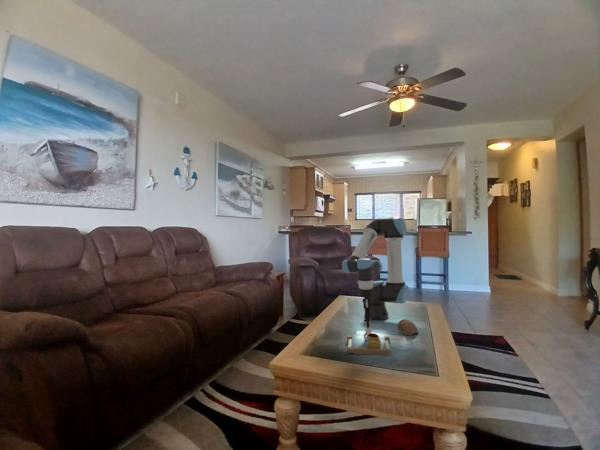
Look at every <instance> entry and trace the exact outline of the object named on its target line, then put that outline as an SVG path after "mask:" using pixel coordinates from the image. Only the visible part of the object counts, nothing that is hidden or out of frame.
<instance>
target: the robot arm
mask: <svg viewBox="0 0 600 450" xmlns="http://www.w3.org/2000/svg"><path fill="white" fill-rule="evenodd" d="M406 235H407V225H406V222H405V220H404V218H402V217H401V216H392V217H391V216H390V217H380V218H379V217H377V218H376V219H374V220H372V221H371V222H369V223H368V224H367V225H366V227H365V228H364V230H363V232H362V236H361V237H360V240H359V241H358V243H357V245H356V247H355V249H354V251H352V254H351V256H350V257H349V258H348V259H344V260H343V261H342V263H341V269H342V271H343V272H344V273H346V274H357V276H358V277H357V278H358V279H357V284H358V295H359V297H363V298H362V305H363V309H364V319H363V322H364V324H365V326H364V327H365V333H367V334H369V333H372V329H371V327H372V326H371V324H372V323H371V320H374V321H379V320H380V321H381V320H386V319H389V312H388V310H387V307H386V303H393V304H397V305H398V304H399V305H401V304H405V303H406V302H407V301H408V297H409V294H410V293H409V292H410V288H409V285H407V284H406V281H405V280H404V279H403V264H402V263H403V262H402V260H403V259H402V256H403V255H402V240H404V236H406ZM378 237H383V238H384V239H385V241H386V251H387V254H386V255H387V279H386V281H385V280H375V281H374V280H373V276H374V275H377V274H379V273H381V271H382V270H383V264H382V262H381V261H380V260H377V259H371V258H369V257H368V258H366V256H367V254H368V253H369V250H370V249H371V246H372V244H373V242H374V241H375V240H377V238H378Z"/></svg>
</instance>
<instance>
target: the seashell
mask: <svg viewBox="0 0 600 450" xmlns="http://www.w3.org/2000/svg"><path fill="white" fill-rule="evenodd" d="M397 330H398V332H400V333H401V334H402V335H404V336H411V335H414V334H417V333H419V330H418V328H417V325H416V324H415V323H414V322H413V321H411V320H410V319H405V318H404V319H401V320H399V322H398V323H397Z"/></svg>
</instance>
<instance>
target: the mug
mask: <svg viewBox="0 0 600 450" xmlns="http://www.w3.org/2000/svg"><path fill="white" fill-rule="evenodd" d="M363 339H364V341H365V345H366V348H373V349H382V341H381V339H380V336H379V335H378V334H376V333H374V332H373V333H372V332H371V333H369V334H367V333H366V332H364V334H363Z"/></svg>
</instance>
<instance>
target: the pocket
mask: <svg viewBox="0 0 600 450" xmlns="http://www.w3.org/2000/svg"><path fill="white" fill-rule="evenodd" d="M346 339H347V342H346V343H347V344H348V345H347V354H348V353H354V355H373V356H378V355H379V356H391V348H390V345H391V339H390V336H384V347H385V348H381V349H373V348H367V347H353V335H351V334H349V335H348V334H347V335H346Z"/></svg>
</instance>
